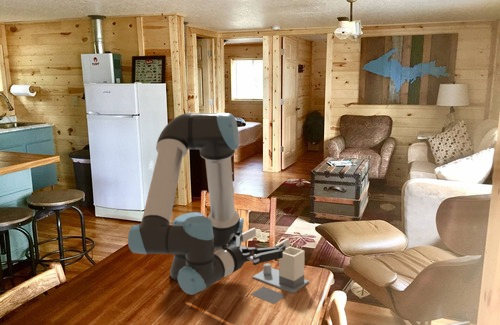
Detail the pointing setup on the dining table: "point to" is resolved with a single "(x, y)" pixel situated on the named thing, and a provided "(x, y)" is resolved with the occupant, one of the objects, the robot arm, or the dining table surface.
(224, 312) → the dining table surface
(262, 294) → the mat
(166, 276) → the dining table surface
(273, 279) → the pin board
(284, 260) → the sleeve
